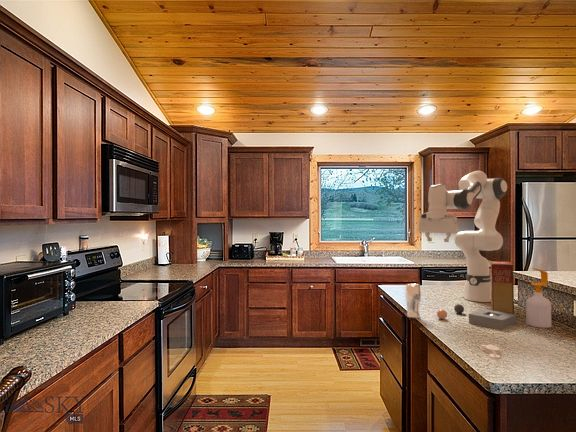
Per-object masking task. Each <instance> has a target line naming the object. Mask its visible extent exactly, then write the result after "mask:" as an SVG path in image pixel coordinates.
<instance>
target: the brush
mask: <svg viewBox="0 0 576 432" xmlns="http://www.w3.org/2000/svg"><path fill="white" fill-rule="evenodd" d="M488 343H489V341H488ZM479 348H480V351H482V352H485V353H486V354H489V355H488V356H489V358H491V359H495V360H498V359H500V358H501V356H500V354H501V352H502V351H501V348H500V347H498V346H495V345H494V344H480V347H479Z"/></svg>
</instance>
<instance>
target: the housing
mask: <svg viewBox="0 0 576 432" xmlns="http://www.w3.org/2000/svg"><path fill="white" fill-rule="evenodd" d="M490 314H496V315H497V317H495V316H490ZM468 323H469V324H473V325H477V326H482V327H487V328H492V329H497V330H502V331H504V330H506V329H507V328H510V327H512V326H514V325H517V314H515V313H514V314H510V313H504V312H498V311H492V309H486V308H482V309H479V310H477V311H476V310H475V311H474V312H470V313H468Z"/></svg>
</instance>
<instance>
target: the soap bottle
mask: <svg viewBox="0 0 576 432" xmlns="http://www.w3.org/2000/svg"><path fill="white" fill-rule="evenodd" d="M531 269H532V270H536V271H538V272H540V282H536V283H535V282H531V283H530V285H531V286H534V288H535V289H534V290H533V295H532V296H529V297H528V298H526V300H525V321H526V322H525V323H526V325H528V326H531V327H535V328H541V329H542V328H543V329H547V328H551V327H552V302H551V301H550V300H549V299H548V298H546V297H545V296H544V295H543V294H544V293H543V292H544V291H543V290H541V288H542V287H543V286H547V285H548V281H549V280H548V279H549V278H548V277H549V275H548V272H547V271H546V270H543V269H539V268H535V267H532V268H531Z"/></svg>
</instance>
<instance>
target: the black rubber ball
mask: <svg viewBox="0 0 576 432" xmlns="http://www.w3.org/2000/svg"><path fill="white" fill-rule="evenodd" d="M453 309H454V311H455V313H457V314H463V313H464V311H465V307H464V306H463V304H460V303H457V304H455V306H454V307H453Z"/></svg>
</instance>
